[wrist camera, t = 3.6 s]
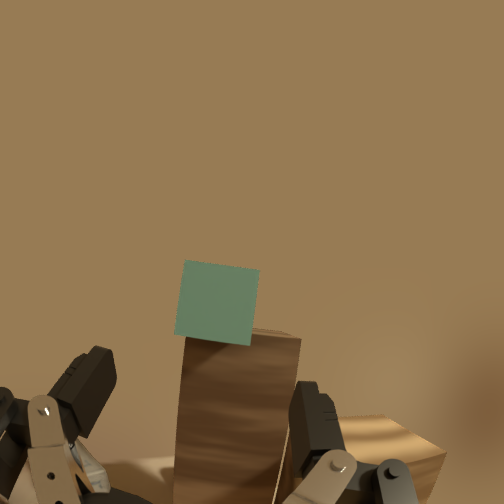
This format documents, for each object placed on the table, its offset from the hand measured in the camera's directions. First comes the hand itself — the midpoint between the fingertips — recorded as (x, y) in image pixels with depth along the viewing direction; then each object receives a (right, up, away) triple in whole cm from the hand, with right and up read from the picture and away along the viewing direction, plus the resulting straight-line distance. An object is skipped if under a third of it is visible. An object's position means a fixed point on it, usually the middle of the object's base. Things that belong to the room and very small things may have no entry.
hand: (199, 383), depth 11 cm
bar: (-1, -2, +16) cm, 16 cm away
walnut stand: (-3, -34, +12) cm, 36 cm away
